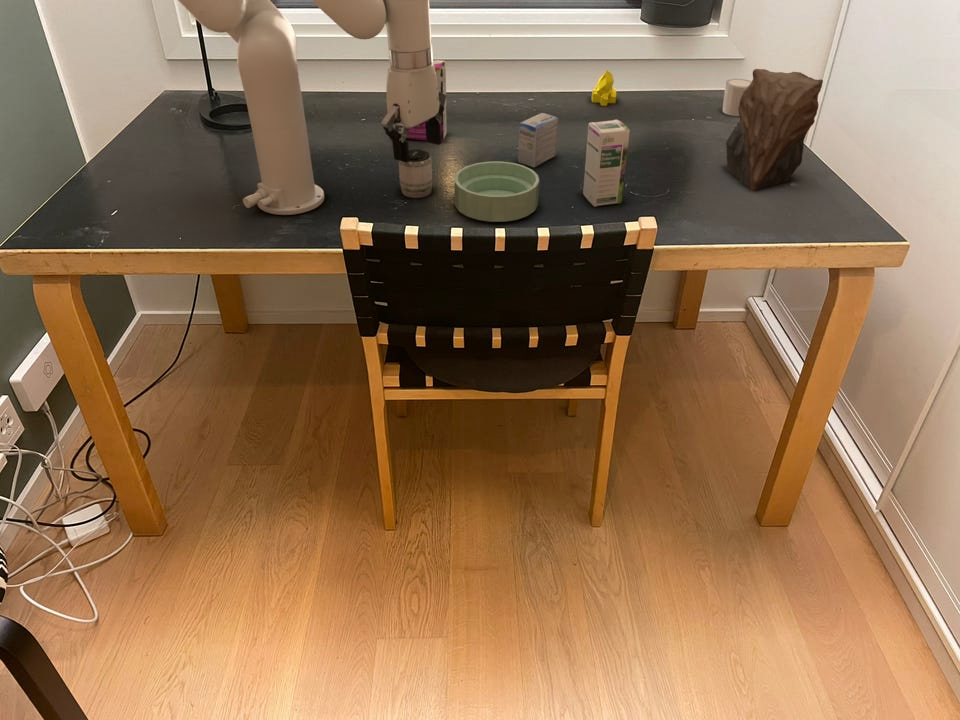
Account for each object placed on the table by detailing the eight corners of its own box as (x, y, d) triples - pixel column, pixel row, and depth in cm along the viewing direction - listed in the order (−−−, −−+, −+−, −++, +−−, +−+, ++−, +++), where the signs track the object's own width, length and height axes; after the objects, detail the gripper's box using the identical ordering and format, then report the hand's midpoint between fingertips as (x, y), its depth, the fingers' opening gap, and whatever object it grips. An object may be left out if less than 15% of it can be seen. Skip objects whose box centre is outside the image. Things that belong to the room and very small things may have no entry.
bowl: (508, 232, 133) (509, 204, 129) (438, 210, 140) (437, 182, 136) (552, 201, 143) (554, 174, 140) (485, 181, 150) (485, 155, 147)
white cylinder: (714, 109, 184) (719, 80, 179) (736, 105, 186) (742, 76, 182) (732, 118, 179) (738, 88, 174) (755, 114, 181) (761, 85, 177)
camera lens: (396, 196, 144) (393, 158, 139) (406, 183, 149) (404, 145, 144) (427, 200, 143) (425, 161, 138) (436, 186, 148) (435, 148, 143)
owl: (718, 166, 156) (739, 67, 144) (772, 160, 159) (796, 62, 147) (750, 191, 147) (775, 87, 135) (807, 184, 149) (836, 82, 137)
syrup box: (593, 207, 141) (601, 132, 132) (581, 194, 145) (588, 120, 137) (621, 203, 142) (631, 129, 133) (608, 190, 147) (617, 117, 138)
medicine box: (539, 151, 162) (541, 112, 157) (556, 156, 160) (559, 116, 155) (517, 163, 157) (518, 122, 152) (534, 168, 155) (536, 127, 150)
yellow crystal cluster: (614, 95, 192) (618, 64, 187) (615, 106, 185) (619, 74, 181) (591, 94, 192) (594, 63, 187) (591, 105, 186) (595, 73, 181)
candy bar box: (395, 140, 167) (389, 64, 157) (399, 132, 171) (394, 57, 161) (444, 142, 166) (442, 66, 156) (447, 134, 170) (445, 59, 160)
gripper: (424, 42, 138) (430, 133, 148) (361, 67, 127) (372, 163, 137) (457, 48, 134) (461, 140, 145) (395, 74, 123) (404, 172, 134)
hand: (418, 151), depth 141 cm, fingers open, 9 cm apart
